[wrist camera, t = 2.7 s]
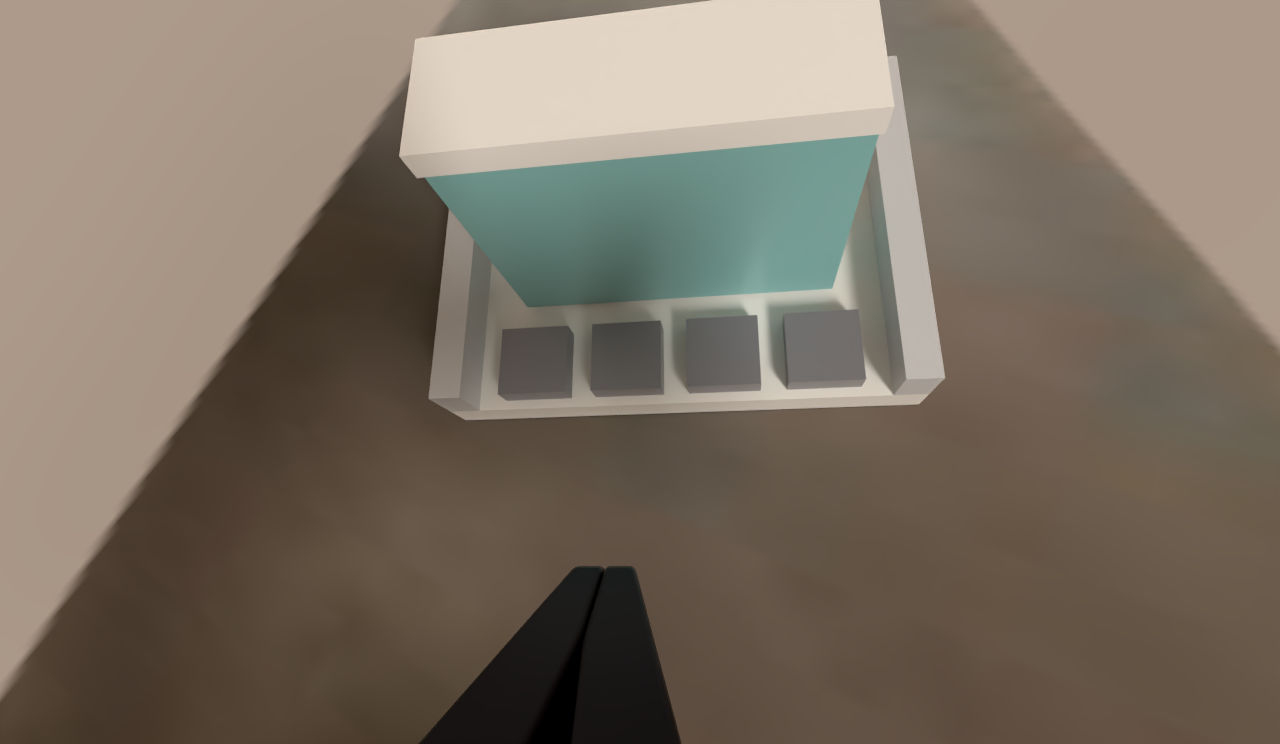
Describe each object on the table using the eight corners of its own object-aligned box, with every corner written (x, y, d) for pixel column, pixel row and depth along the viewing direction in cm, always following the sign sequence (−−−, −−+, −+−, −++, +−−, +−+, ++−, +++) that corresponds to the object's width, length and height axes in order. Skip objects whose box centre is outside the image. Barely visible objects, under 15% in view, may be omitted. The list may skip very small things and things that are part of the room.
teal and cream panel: (835, 291, 20) (894, 106, 12) (524, 310, 22) (399, 156, 14) (826, 202, 21) (876, -21, 13) (529, 227, 23) (415, 38, 15)
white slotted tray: (918, 404, 20) (944, 377, 18) (465, 420, 22) (428, 399, 20) (879, 114, 24) (896, 55, 21) (489, 152, 26) (460, 104, 23)
